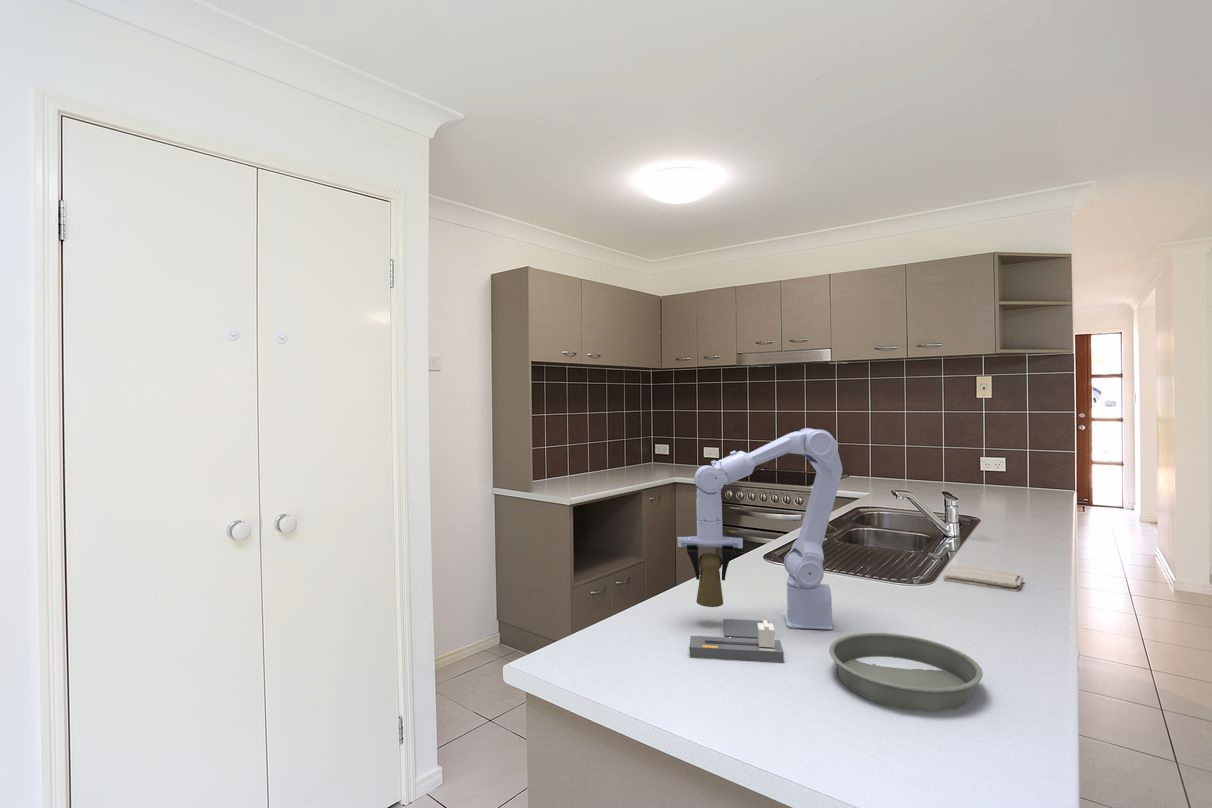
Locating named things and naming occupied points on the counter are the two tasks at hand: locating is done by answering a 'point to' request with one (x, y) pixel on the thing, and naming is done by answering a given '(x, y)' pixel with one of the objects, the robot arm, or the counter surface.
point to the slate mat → (741, 628)
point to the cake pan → (906, 671)
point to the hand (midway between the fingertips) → (710, 578)
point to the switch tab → (766, 634)
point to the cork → (710, 581)
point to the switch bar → (734, 649)
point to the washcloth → (983, 577)
